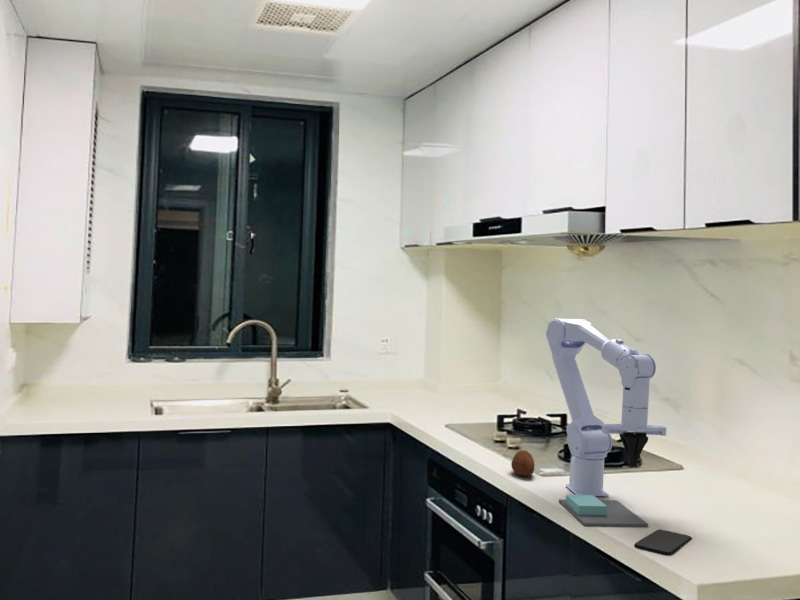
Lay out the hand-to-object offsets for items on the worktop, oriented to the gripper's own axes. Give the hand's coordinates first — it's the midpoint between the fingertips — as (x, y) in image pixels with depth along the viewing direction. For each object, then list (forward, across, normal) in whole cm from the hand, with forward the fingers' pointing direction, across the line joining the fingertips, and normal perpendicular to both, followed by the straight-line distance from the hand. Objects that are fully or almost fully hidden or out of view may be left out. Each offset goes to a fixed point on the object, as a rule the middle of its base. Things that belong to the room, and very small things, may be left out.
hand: (632, 465), depth 181 cm
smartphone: (+10, -2, -24) cm, 26 cm away
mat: (+10, -8, -5) cm, 14 cm away
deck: (+8, -8, -4) cm, 12 cm away
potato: (+10, -18, +30) cm, 36 cm away
